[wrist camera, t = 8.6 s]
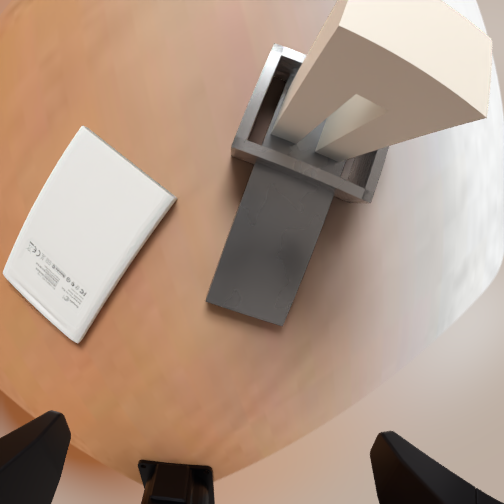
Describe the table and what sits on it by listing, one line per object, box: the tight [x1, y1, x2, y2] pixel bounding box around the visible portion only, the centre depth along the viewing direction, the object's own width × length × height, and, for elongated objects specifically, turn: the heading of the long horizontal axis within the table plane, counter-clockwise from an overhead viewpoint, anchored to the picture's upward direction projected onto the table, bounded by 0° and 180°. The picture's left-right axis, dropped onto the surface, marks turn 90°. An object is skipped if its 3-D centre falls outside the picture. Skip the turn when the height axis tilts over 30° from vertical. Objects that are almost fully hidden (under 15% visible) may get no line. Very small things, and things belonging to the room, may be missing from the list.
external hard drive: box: [3, 126, 177, 343], centre depth 19 cm, size 2×8×12 cm
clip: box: [271, 0, 492, 162], centre depth 12 cm, size 3×4×12 cm
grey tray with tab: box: [206, 43, 389, 326], centre depth 18 cm, size 16×8×3 cm, turn 160°
